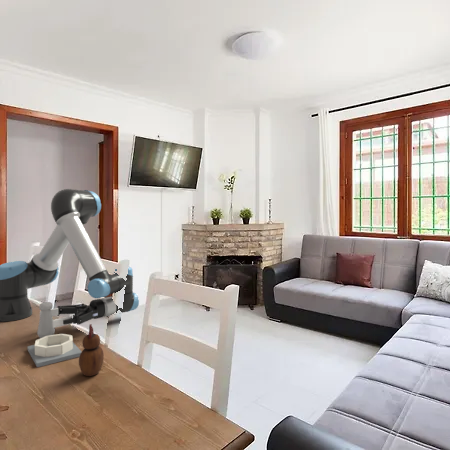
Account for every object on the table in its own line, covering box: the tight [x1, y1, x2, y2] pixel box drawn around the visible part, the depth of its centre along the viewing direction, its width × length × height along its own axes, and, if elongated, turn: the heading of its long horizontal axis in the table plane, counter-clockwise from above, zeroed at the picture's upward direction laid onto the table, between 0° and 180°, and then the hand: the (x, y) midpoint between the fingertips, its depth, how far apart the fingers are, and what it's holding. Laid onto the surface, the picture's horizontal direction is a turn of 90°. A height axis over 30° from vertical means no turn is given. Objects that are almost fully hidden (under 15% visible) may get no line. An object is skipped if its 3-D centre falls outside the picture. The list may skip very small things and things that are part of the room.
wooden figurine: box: [78, 323, 105, 377], centre depth 98 cm, size 7×6×15 cm
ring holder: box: [34, 333, 74, 357], centre depth 112 cm, size 11×11×3 cm
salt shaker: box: [36, 301, 56, 339], centre depth 124 cm, size 6×6×13 cm
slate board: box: [26, 342, 83, 368], centre depth 112 cm, size 16×13×1 cm
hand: (46, 319), depth 124 cm, fingers open, 13 cm apart
